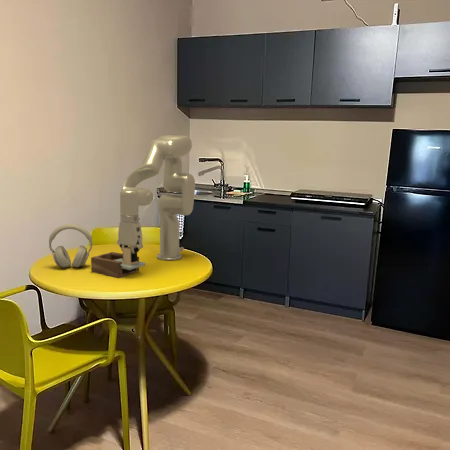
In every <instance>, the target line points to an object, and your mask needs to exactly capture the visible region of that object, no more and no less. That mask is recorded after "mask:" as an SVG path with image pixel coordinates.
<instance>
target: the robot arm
mask: <svg viewBox="0 0 450 450" xmlns="http://www.w3.org/2000/svg"><path fill="white" fill-rule="evenodd" d="M192 146H193V142H192V140H191V138H190V137H189V136H188V135H173V134H172V135H171V134H170V135H168V134H167V135H166V134H165V135H161V136H159V137H158V138H156V139H153V140H151V141H150V143H149V145H148V147H147V150H146V152H145V155H144V158H143V160H142V162H141V165H140V166H138V167H137V168H136V169H134V170H133V171H131V172H130V174H128V176H126V178H125V180H124V183H123V185H122V187H121V191H120V192H119V203H120V204H119V206H120V212H119V214H120V217H119V218H120V221H119V223H118V224H119V225H118V234H117V237H118V238H117V239H118V240H116V245H118V246H119V248H120V249H121V252H123V248H125V247H129V246H131V248H132V253H131V262H136V261H137V257H138V253H139V251H140V250H141V249H143V248H144V245H143V231H142V226H141V222H139V221H140V220H141V217H139V206H148V205H150V204H151V203H152V202H153V200H154V193H153V191H152V190H151V189H148V188H145V187H144V188H143V187H137V186H138V184H139V183H141V182H144V181H145V180H148V179H151V178H153V177H156V176H157V175H158V174H159V173H160V171H161V168H162V166H163V163H164V169H163V170H164V171H163V180H162V181H163V182H162V183H163V185H162V186H163V189H164V190H165V191H166V192H170V193H171V192H172V193H179V194H180V193H181V194H180V195H179V194H163V195H161V196H159V198H158V200H157V209H158V213H159V253H158V254H157V255H156V258H157V259H158V260H162V261H175V260H176V261H177V260H181V259H183V255H182V254H181V252H182V251H184V250H185V248H184V247H183V246H181V247H180V221H179V218H178V216H190V215H191V213H192V212H193V210H194V204H195V203H194V202H195V200H194V199H195V192H196V180H195V177H194V175H193V174H191V173H186V172H183V161H182V159H181V157H183V156H186V155H187V154H189V153H190V152H191V150H192ZM177 215H178V216H177ZM134 247H135V249H134Z"/></svg>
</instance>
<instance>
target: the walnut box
mask: <svg viewBox="0 0 450 450" xmlns="http://www.w3.org/2000/svg"><path fill="white" fill-rule="evenodd" d="M121 258H123V253H120V252H116V251H110V252H107V253H103V254H99V255H96V256H91V257H90V264H91V267H90V268H91V273H93V274H97V275H98V274H99V275H101V276H102V275H103V276H108V277H111V278H116V279H121V278H124V277H127V276H129V275H133V274H135V273H139V272H140V267H138V268H134V269H131V270H127V269H123V268H121V264H122V262H120V261H115V260H117V259H121ZM137 261H139V262H140V256H137Z"/></svg>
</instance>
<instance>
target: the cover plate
mask: <svg viewBox="0 0 450 450" xmlns="http://www.w3.org/2000/svg"><path fill="white" fill-rule="evenodd" d="M134 249H135V247H134ZM131 253H132V248H131V246H128V247H125V248H123V251H122V254H123V258H121V259H117V260H115V261H120V262H122V264H121V268H123V269H127V270H131V269H134V268H138V267H139V268H141V267H144V266H146V262H145V261H140V260H139V261H136V262H131Z"/></svg>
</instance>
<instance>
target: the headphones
mask: <svg viewBox="0 0 450 450" xmlns="http://www.w3.org/2000/svg"><path fill="white" fill-rule="evenodd" d="M65 230H75V231H77V232H80V233H81V234H83V235H84V237H85V239H87V241H88V242H89V244H90V247H89V249H88V248H87V247H86V246H85V245H80V246H79V248H78V249H77V252H76V254H75V256H74V257H73V258H74V259H73V261H72V260H71V257H70V255H69V252H68V251H67V249H66V248H65V247H64V246H63V245H59V246H57V247H56V248H55V249H53V248H52V242H53V240H54V239H55V238H56V236H57V235H58V234H59V233H61V232H63V231H65ZM48 248H49V250H50V252H51V254H52V259H53V261H54V263H55V264H56V265H57V267H59V268H60V267H62V268H64V269H66V268H68V267H70V266H72V267H74V268H80V267H81V266H82V267H84V266H85V265H86V263H87V260H88V258H89V256H90V252H91V251H92V248H93V238H92V235H91V233H90V231H88V229H86V228H85V227H84V226H81V225H78V224H76V223H65V224H61V225H60V226H58V227H56V228H55V229H54V230H53V231H52V232H51V233H50V235H49V239H48Z"/></svg>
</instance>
